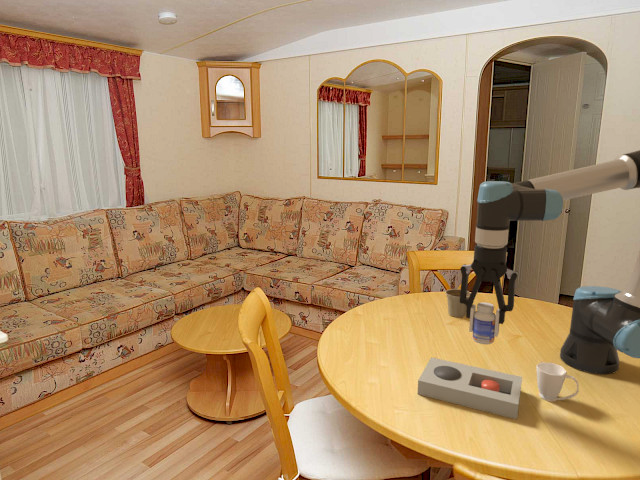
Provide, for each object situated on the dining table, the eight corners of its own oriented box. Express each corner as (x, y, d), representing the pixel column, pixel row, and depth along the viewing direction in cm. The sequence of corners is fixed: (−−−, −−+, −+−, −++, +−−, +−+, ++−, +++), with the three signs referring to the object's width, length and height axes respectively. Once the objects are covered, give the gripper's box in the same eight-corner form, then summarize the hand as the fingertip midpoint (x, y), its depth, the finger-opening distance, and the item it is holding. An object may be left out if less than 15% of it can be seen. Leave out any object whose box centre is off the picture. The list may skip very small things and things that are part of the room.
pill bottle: (495, 346, 113) (498, 309, 111) (472, 343, 115) (475, 308, 112) (492, 336, 118) (495, 302, 116) (471, 334, 120) (473, 300, 118)
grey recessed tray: (520, 390, 119) (522, 375, 118) (516, 419, 107) (518, 403, 106) (430, 369, 130) (431, 356, 129) (417, 394, 118) (418, 379, 117)
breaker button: (500, 388, 117) (500, 382, 117) (498, 396, 113) (498, 390, 113) (482, 384, 119) (482, 378, 118) (479, 392, 115) (480, 386, 115)
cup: (534, 386, 121) (537, 359, 119) (576, 396, 117) (580, 368, 115) (532, 399, 115) (535, 371, 113) (576, 410, 111) (580, 381, 109)
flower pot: (439, 311, 173) (440, 290, 171) (460, 308, 176) (461, 287, 174) (453, 320, 165) (454, 298, 163) (475, 317, 167) (476, 295, 165)
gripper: (533, 245, 110) (524, 333, 115) (456, 237, 118) (451, 320, 124) (530, 252, 103) (521, 345, 108) (449, 243, 112) (444, 330, 117)
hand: (483, 332), depth 116 cm, fingers closed on pill bottle, 5 cm apart
